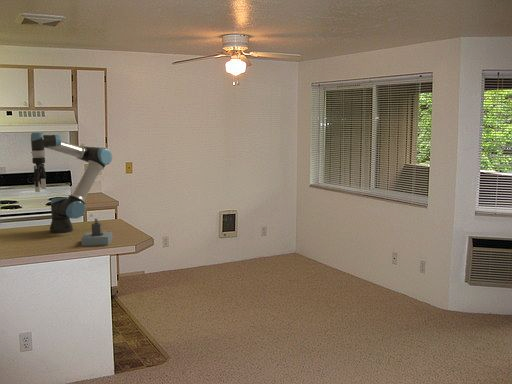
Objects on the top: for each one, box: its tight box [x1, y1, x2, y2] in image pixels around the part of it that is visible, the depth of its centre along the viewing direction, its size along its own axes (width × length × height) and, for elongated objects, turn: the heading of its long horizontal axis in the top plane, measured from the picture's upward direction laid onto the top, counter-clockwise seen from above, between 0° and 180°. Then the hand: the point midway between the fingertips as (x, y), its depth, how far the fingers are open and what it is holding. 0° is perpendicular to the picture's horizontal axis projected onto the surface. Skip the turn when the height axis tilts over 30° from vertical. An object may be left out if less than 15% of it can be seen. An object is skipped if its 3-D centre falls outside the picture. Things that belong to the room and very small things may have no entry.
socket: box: [80, 231, 114, 247], centre depth 362 cm, size 16×16×5 cm
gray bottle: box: [91, 218, 103, 236], centre depth 361 cm, size 5×5×15 cm
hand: (40, 190), depth 370 cm, fingers open, 13 cm apart
